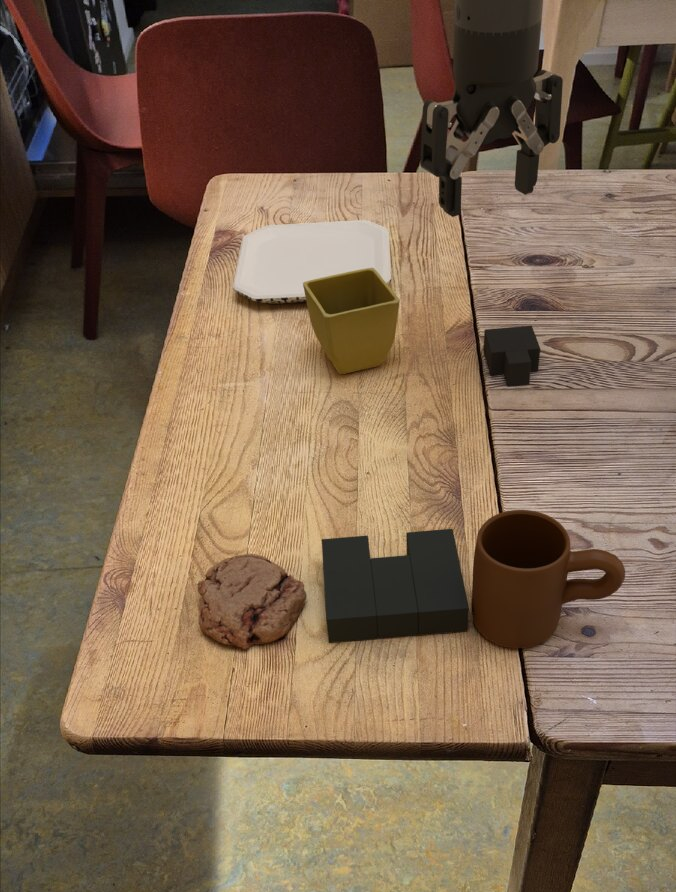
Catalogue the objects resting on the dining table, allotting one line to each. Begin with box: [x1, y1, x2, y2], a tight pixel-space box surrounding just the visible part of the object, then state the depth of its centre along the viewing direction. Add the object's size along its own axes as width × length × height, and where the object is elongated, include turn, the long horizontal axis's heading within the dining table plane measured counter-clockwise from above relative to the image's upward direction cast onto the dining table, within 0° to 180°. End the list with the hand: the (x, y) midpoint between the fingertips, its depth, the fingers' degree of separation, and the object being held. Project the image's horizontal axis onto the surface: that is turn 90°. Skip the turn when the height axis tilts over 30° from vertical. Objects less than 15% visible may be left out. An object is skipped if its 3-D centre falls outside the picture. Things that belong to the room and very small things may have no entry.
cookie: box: [197, 553, 307, 650], centre depth 82 cm, size 10×11×3 cm
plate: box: [232, 219, 392, 305], centre depth 125 cm, size 21×21×2 cm
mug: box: [471, 509, 626, 649], centre depth 76 cm, size 12×8×9 cm, turn 73°
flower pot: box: [303, 268, 401, 375], centre depth 107 cm, size 9×9×9 cm
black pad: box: [482, 325, 541, 387], centre depth 106 cm, size 6×8×3 cm
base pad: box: [321, 528, 470, 644], centre depth 82 cm, size 12×10×3 cm
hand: (488, 202), depth 92 cm, fingers open, 8 cm apart
